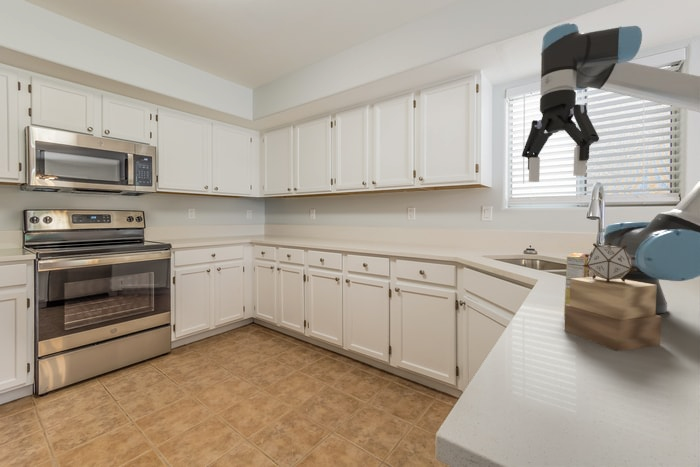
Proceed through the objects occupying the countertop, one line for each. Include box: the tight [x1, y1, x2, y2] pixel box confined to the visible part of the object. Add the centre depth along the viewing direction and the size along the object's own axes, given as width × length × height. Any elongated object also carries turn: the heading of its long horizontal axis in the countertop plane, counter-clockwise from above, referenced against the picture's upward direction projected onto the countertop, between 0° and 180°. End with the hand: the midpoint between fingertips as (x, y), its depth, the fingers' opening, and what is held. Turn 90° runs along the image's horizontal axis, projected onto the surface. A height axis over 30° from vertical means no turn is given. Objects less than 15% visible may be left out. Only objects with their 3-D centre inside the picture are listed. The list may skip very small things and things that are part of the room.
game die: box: [583, 242, 637, 283], centre depth 65 cm, size 9×8×10 cm
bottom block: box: [563, 304, 662, 352], centre depth 66 cm, size 11×11×6 cm
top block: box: [569, 276, 657, 320], centre depth 65 cm, size 10×10×6 cm
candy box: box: [563, 252, 590, 316], centre depth 81 cm, size 9×4×15 cm, turn 138°
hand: (554, 179), depth 80 cm, fingers open, 13 cm apart
